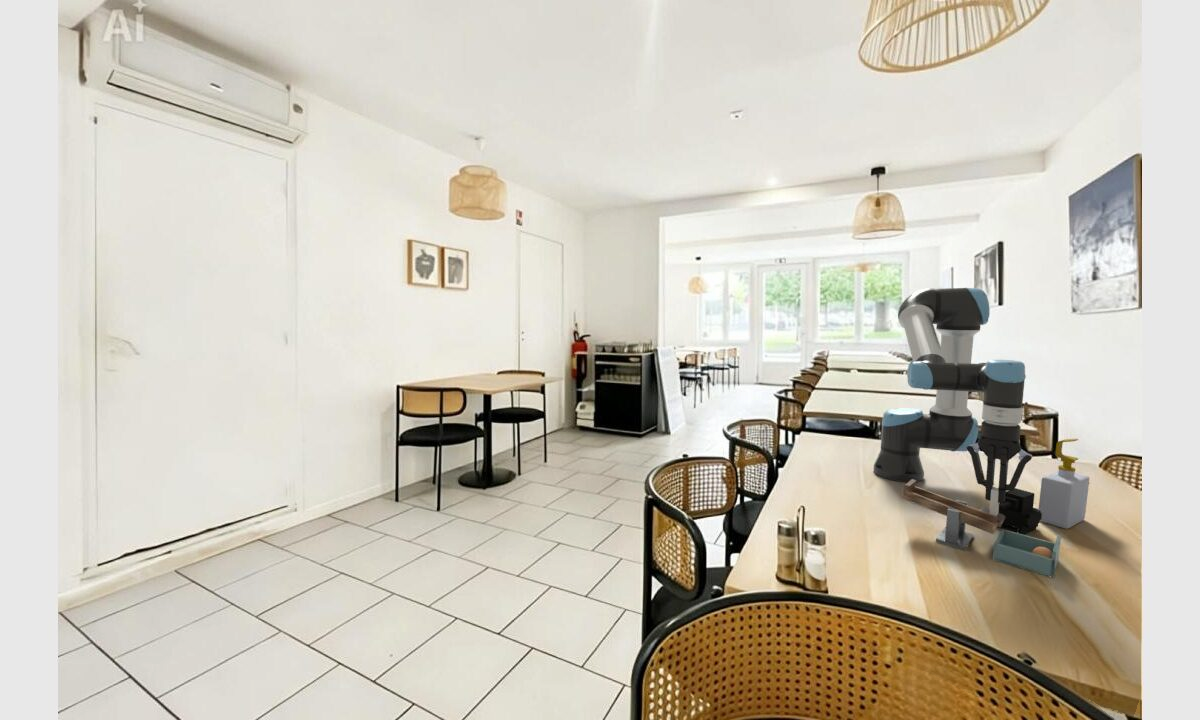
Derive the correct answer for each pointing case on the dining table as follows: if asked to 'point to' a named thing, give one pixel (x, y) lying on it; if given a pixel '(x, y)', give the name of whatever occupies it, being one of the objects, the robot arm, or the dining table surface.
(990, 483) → the robot arm
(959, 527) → the stand
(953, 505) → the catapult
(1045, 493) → the soap bottle
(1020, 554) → the tray
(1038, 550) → the ball
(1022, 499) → the toy
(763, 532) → the dining table surface
